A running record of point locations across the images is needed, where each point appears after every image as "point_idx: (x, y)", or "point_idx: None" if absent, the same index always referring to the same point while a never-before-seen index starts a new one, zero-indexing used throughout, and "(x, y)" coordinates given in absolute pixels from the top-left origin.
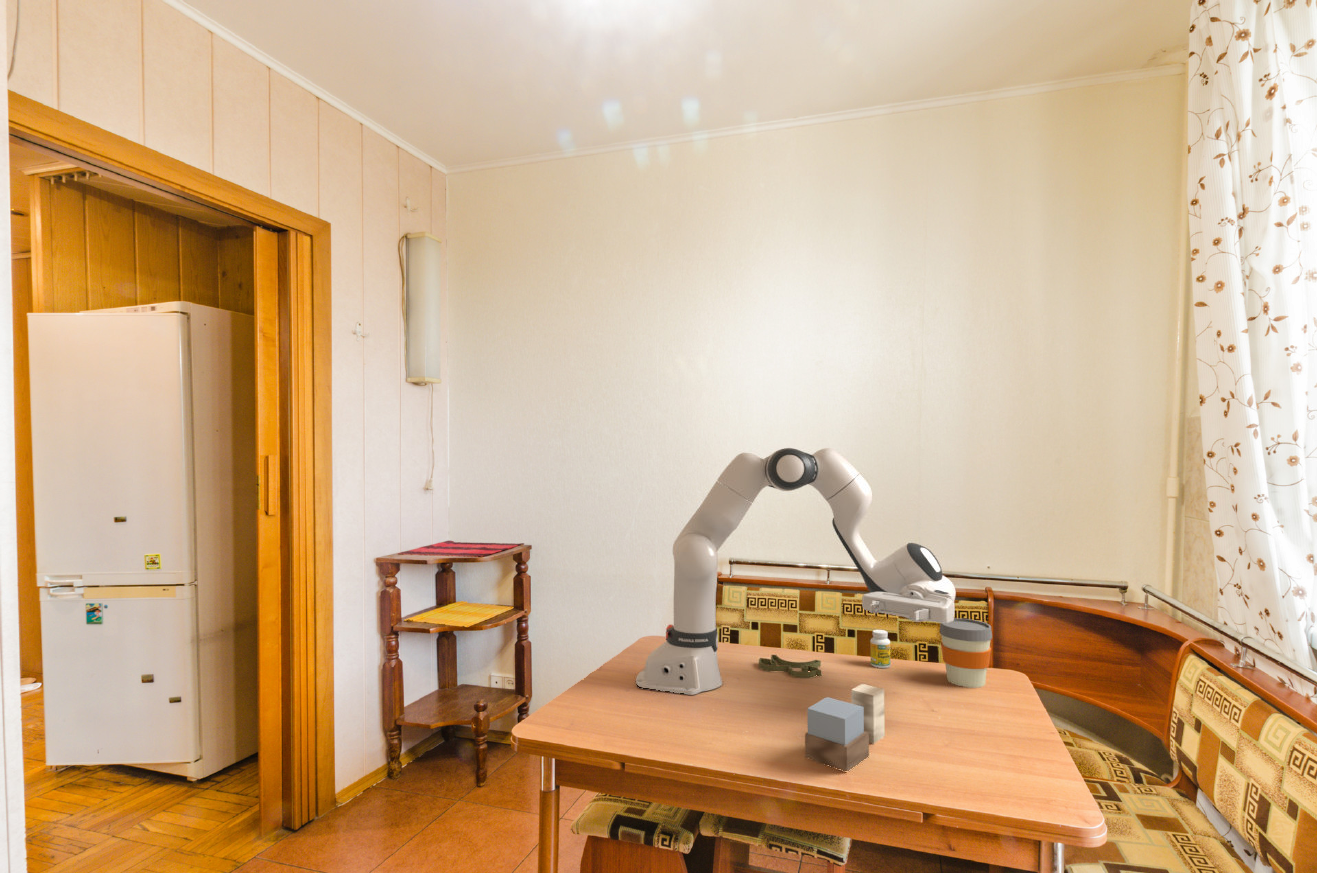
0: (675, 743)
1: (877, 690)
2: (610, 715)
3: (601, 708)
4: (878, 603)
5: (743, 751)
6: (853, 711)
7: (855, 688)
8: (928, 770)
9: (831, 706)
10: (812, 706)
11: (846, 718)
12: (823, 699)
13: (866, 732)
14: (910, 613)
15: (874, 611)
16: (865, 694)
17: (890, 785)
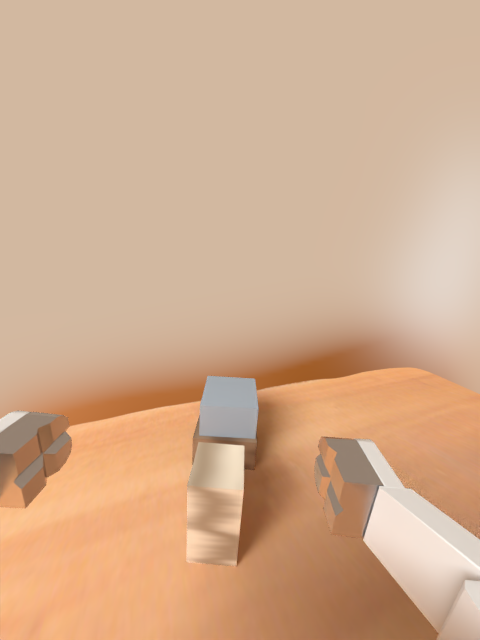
0: (350, 395)
1: (199, 470)
2: (441, 403)
3: (467, 409)
4: (474, 636)
5: (303, 409)
6: (206, 391)
7: (241, 455)
8: (109, 475)
9: (236, 391)
10: (253, 383)
11: (207, 378)
12: (256, 401)
13: (195, 436)
14: (62, 417)
15: (322, 462)
16: (214, 444)
17: (157, 423)
